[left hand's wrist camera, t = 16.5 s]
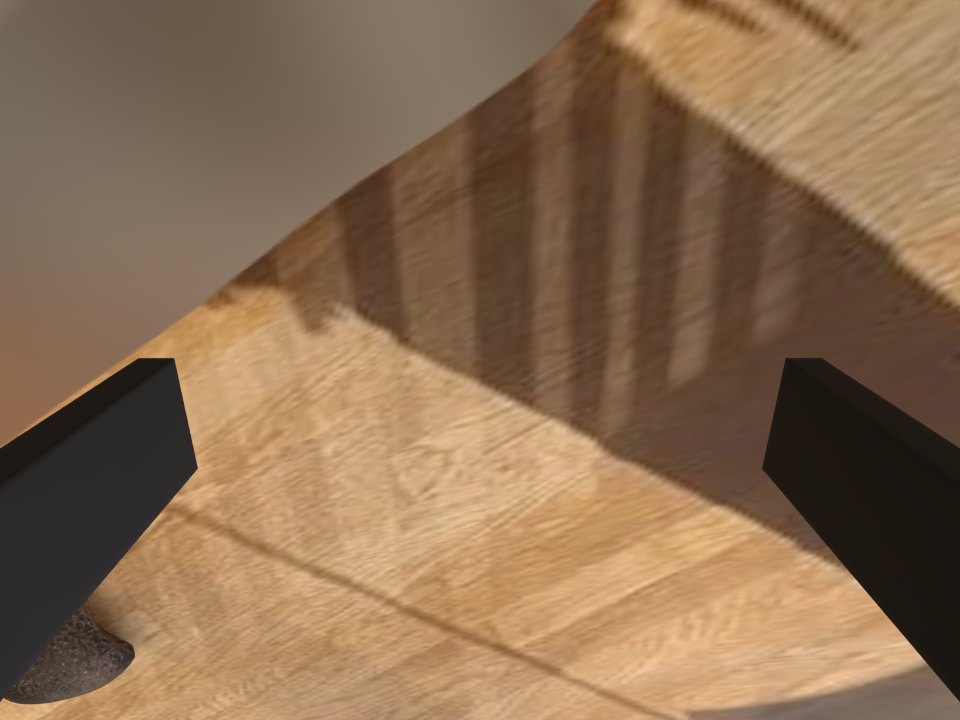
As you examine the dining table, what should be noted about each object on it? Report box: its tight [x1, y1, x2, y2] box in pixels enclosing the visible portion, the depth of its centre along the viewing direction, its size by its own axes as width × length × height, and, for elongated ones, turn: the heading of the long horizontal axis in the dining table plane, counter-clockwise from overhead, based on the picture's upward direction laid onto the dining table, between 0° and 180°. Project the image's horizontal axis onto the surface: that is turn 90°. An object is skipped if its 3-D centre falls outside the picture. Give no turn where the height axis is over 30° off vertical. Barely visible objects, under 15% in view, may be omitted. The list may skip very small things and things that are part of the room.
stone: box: [4, 602, 135, 704], centre depth 49 cm, size 10×8×10 cm
